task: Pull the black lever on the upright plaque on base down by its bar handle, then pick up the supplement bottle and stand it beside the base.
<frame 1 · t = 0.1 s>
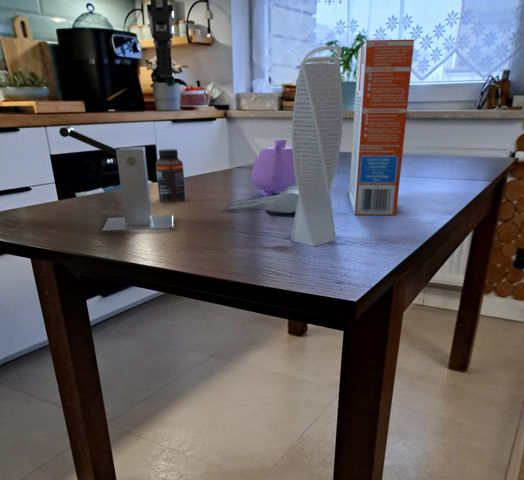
hand: (165, 76, 83), 25 cm above the table, tool pointing down, fingers open, 8 cm apart
skyscraper: (314, 241, 85), on the table
orange cereal box: (370, 205, 113), on the table
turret: (276, 213, 106), on the table
teapot: (280, 194, 127), on the table
upright plaque on base: (140, 229, 94), on the table
lever: (102, 146, 87), point 14 cm above the table, hinge at 25.0°
supplement bottle: (173, 203, 117), on the table
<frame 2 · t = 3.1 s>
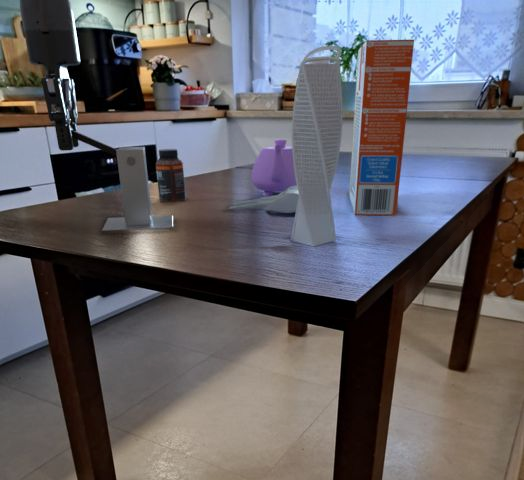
hand: (69, 148, 86), 14 cm above the table, tool pointing down, fingers closed on lever, 5 cm apart
lever: (102, 146, 87), point 14 cm above the table, hinge at 25.0°, touching gripper
everything else where it was.
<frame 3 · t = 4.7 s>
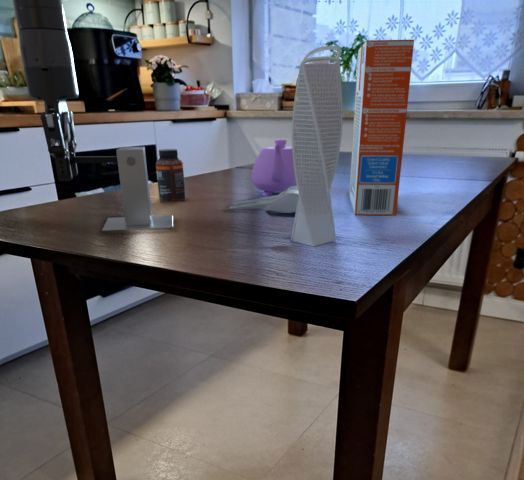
hand: (68, 177, 88), 9 cm above the table, tool pointing down, fingers closed on lever, 5 cm apart
lever: (100, 159, 88), point 12 cm above the table, hinge at 1.1°, touching gripper
everything else where it was.
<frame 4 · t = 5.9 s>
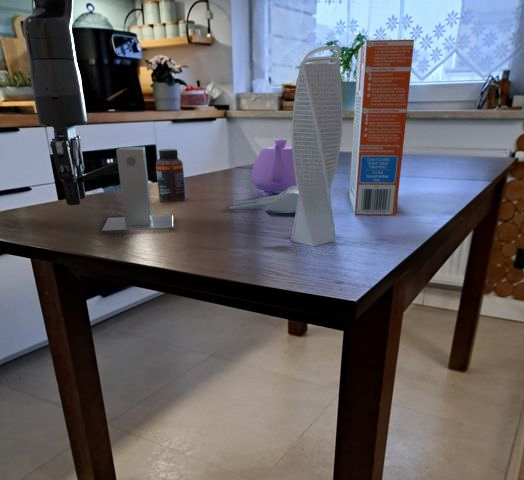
hand: (76, 201, 90), 5 cm above the table, tool pointing down, fingers closed on lever, 5 cm apart
lever: (104, 170, 89), point 10 cm above the table, hinge at -18.7°, touching gripper
everything else where it was.
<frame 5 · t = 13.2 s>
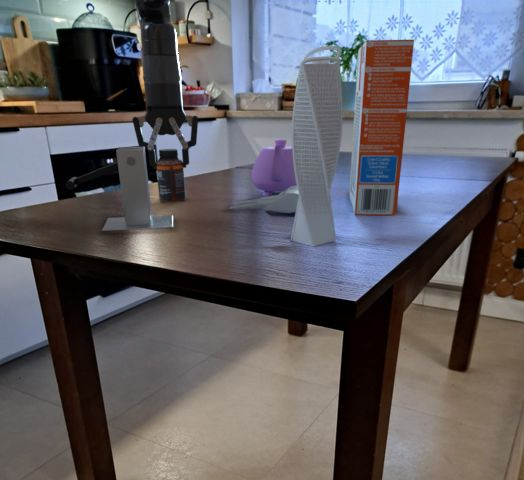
hand: (169, 167, 113), 8 cm above the table, tool pointing down, fingers closed on supplement bottle, 6 cm apart
lever: (104, 170, 89), point 10 cm above the table, hinge at -19.0°
supplement bottle: (173, 203, 117), on the table, touching gripper
everything else where it was.
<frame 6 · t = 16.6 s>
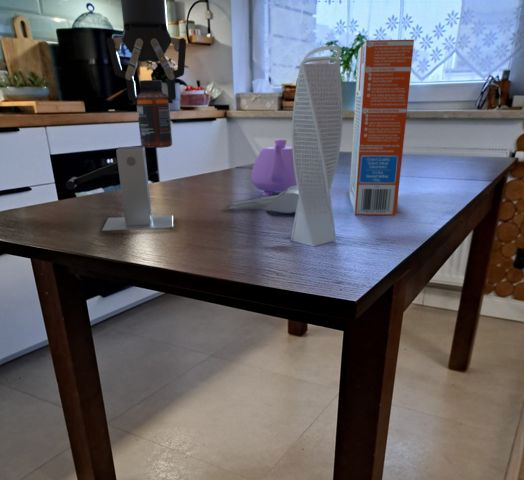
hand: (152, 103, 95), 21 cm above the table, tool pointing down, fingers closed on supplement bottle, 6 cm apart
supplement bottle: (157, 148, 99), point 13 cm above the table, touching gripper
everything else where it was.
when the fingers open (8 cm above the table, at t = 20.0 s): supplement bottle stays where it is, on the table.
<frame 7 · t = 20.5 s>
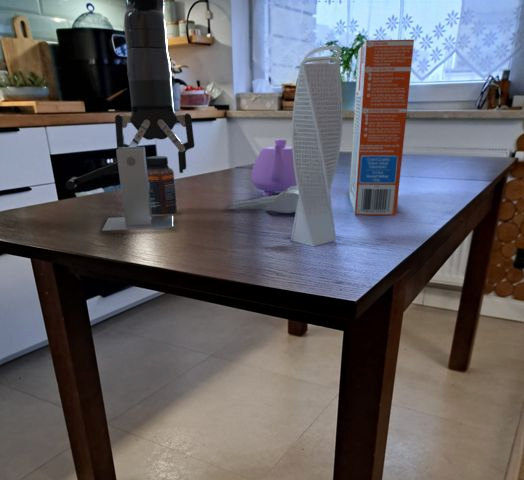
hand: (158, 173, 99), 8 cm above the table, tool pointing down, fingers open, 8 cm apart
supplement bottle: (163, 217, 103), on the table
everything else where it was.
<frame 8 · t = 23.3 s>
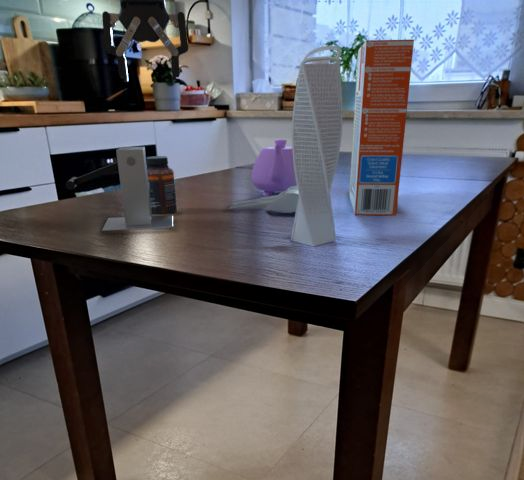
hand: (150, 81, 93), 24 cm above the table, tool pointing down, fingers open, 8 cm apart
nothing on the table moved.
at the end: lever at -19° (first picture: +25°); supplement bottle inside the target area on the table beside the upright plaque on base (0.1 cm from its centre), on the table; supplement bottle tilted 0° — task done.
